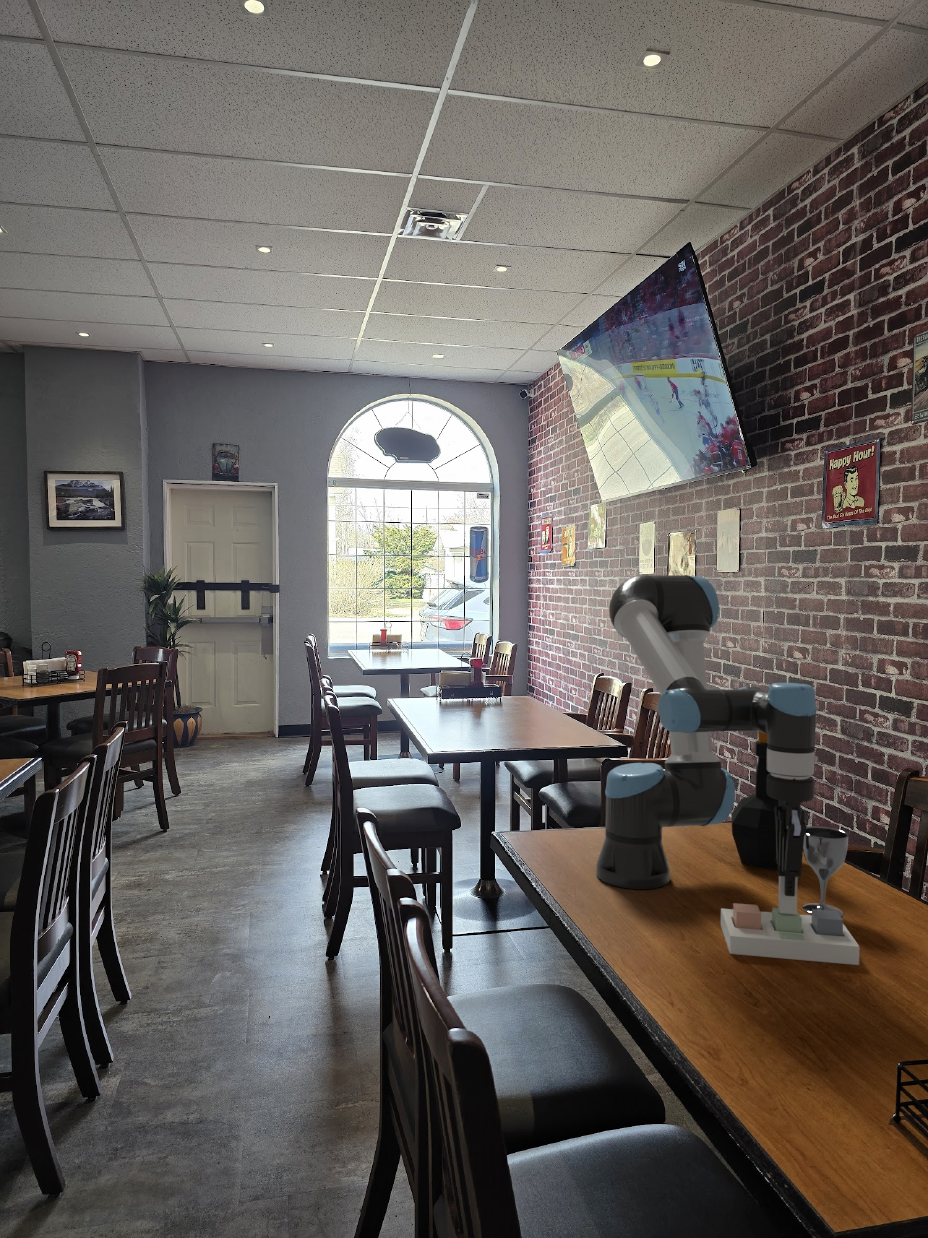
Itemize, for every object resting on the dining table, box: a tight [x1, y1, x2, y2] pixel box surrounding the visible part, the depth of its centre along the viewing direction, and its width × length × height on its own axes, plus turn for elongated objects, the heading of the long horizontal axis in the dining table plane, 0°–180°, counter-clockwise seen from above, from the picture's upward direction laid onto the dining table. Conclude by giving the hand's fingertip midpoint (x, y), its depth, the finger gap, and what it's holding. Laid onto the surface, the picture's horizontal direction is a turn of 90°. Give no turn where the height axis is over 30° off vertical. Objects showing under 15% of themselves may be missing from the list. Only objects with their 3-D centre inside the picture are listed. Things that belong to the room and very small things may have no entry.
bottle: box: [730, 731, 808, 871], centre depth 182 cm, size 16×16×30 cm
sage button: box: [771, 907, 802, 933], centre depth 139 cm, size 4×4×3 cm
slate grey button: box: [811, 909, 844, 936], centre depth 138 cm, size 4×4×3 cm
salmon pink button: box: [732, 902, 762, 930], centre depth 140 cm, size 4×4×3 cm
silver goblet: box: [802, 825, 849, 918], centre depth 154 cm, size 8×8×15 cm
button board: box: [720, 908, 860, 966], centre depth 139 cm, size 20×12×3 cm, turn 80°
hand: (787, 912), depth 139 cm, fingers closed
